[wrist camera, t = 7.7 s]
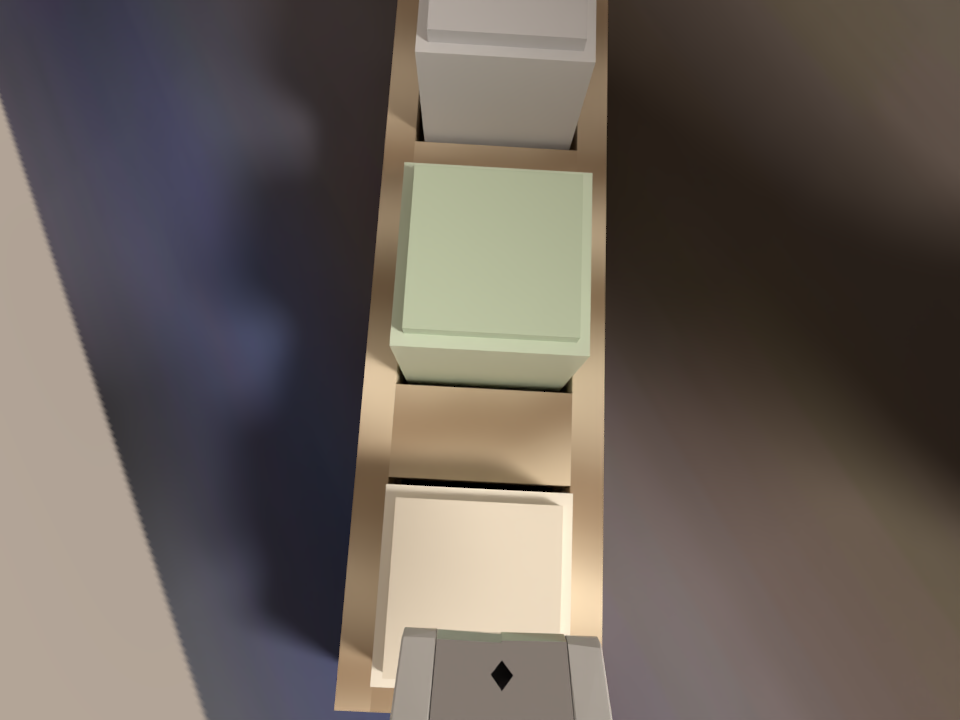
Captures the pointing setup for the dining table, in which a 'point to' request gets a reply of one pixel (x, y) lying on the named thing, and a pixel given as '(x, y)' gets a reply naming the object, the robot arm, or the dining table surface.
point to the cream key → (470, 565)
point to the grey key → (504, 70)
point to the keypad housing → (472, 411)
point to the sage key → (492, 276)
